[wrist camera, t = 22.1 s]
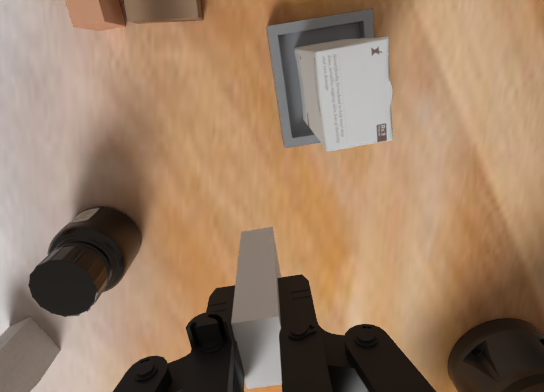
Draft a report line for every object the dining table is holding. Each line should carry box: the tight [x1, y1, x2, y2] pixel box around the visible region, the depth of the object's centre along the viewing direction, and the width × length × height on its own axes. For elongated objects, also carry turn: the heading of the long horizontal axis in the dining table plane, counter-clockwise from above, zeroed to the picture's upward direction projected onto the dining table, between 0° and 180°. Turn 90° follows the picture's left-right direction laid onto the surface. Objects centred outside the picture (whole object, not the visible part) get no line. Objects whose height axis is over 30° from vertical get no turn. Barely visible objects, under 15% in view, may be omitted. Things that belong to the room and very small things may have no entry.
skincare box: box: [294, 36, 393, 151], centre depth 36 cm, size 8×6×15 cm
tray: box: [266, 8, 374, 148], centre depth 43 cm, size 11×13×2 cm
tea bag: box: [0, 316, 60, 392], centre depth 51 cm, size 4×7×10 cm, turn 27°
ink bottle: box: [29, 207, 141, 317], centre depth 44 cm, size 10×9×12 cm
